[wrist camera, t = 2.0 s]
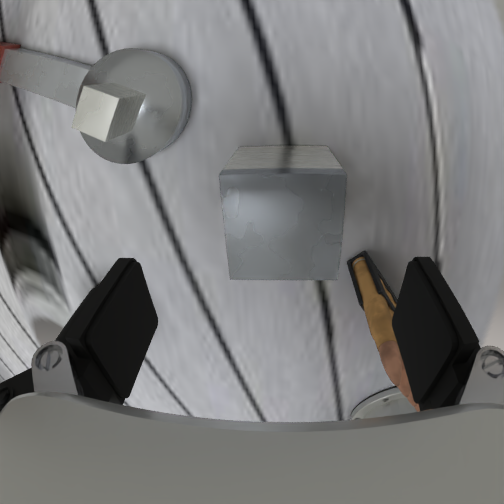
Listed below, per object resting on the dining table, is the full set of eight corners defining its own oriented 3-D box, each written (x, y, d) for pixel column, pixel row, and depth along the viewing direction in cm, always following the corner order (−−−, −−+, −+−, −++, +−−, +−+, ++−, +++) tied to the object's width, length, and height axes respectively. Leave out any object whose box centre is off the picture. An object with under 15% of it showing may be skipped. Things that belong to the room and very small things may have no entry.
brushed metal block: (326, 145, 19) (346, 174, 13) (324, 224, 22) (337, 279, 16) (238, 146, 20) (219, 175, 14) (244, 224, 23) (230, 279, 17)
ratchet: (210, 72, 17) (183, 67, 12) (166, 171, 21) (131, 201, 16) (-12, 19, 13) (-54, 23, 8) (-30, 88, 17) (-70, 101, 12)
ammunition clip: (345, 261, 24) (376, 385, 14) (364, 249, 23) (408, 370, 13) (395, 332, 28) (424, 435, 17) (411, 323, 27) (445, 425, 17)
